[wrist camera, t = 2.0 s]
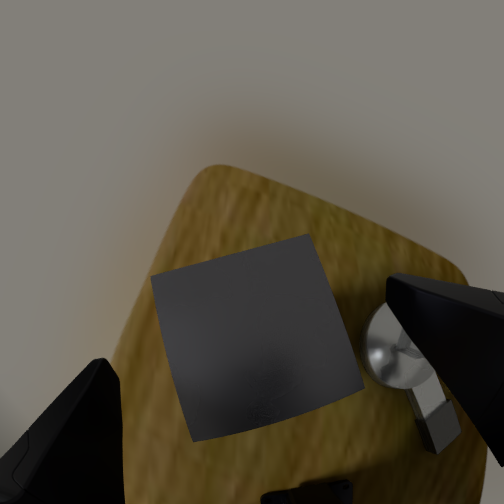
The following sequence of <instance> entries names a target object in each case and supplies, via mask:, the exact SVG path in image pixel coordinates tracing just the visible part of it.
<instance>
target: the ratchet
mask: <svg viewBox="0 0 504 504" xmlns="http://www.w3.org/2000/svg"><path fill="white" fill-rule="evenodd" d="M359 350H360V357H361V361H362V364H363V366H364V368H365V370H366V372H367V373H368V375H369V376H370V377H371V378H372V379H373V380H374V381H375V382H377V383H378V384H380V385H382V386H385V387H388V388H398V389H405V392H406V394H407V396H408V399H409V401H410V403H411V406H412V408H413V411H414V413H415V416H416V418H417V419H415V422H416V424H417V427H418V429H419V432H420V434H421V437H422V440H423V442H424V445H425V448H426V451H428V452H431V453H434V454H437V455H438V454H439V453H440V452H441V451H442V450H443V449H444V448H445V447H446V446H448V445H449V444H450V443H451V442H452V441H453V440H454V439H455V438H456V437H457V436H458V435H459V434H460V433H461V428H460V425H459V422H458V419H457V415H456V412H455V409H454V406H453V404H452V401H451V400H448V399H446V398H445V396H444V393H443V390H442V388H441V385H440V383H439V380H438V378H437V375H436V373H435V370H434V369H433V367H432V366H431V365H430V363H429V362H428V361H427V360H426V358H425V357H424V356H423V355H422V353H421V352H420V351H419V350H418V348H417V347H416V346H415V345H414V343H413V342H412V341H411V339H410V338H409V337H408V335H407V334H406V332H405V331H404V329H403V328H402V326H401V325H400V323H399V322H398V320H397V319H396V317H395V316H394V314H393V313H392V311H391V310H390V308H389V307H388V305H387V303H386V302H385V303H383V304H382V305H380V306H378V307H377V308H376V309H375V310H374V311H373V312H372V313H371V314H370V315H369V316H368V318H367V320H366V321H365V323H364V326H363V328H362V331H361V335H360V343H359Z"/></svg>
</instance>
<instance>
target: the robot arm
mask: <svg viewBox="0 0 504 504" xmlns="http://www.w3.org/2000/svg"><path fill="white" fill-rule="evenodd" d="M385 298H386V303H387V305H388V307H389V308H390V310H391V311H392V313H393V314H394V316H395V317H396V319H397V320H398V322H399V323H400V325H401V326H402V328H403V329H404V331H405V332H406V334H407V335H408V337H409V338H410V339H411V341H412V342H413V343H414V345H415V346H416V347H417V348H418V350H419V351H420V352H421V353H422V355H423V356H424V357H425V358H426V360H427V361H428V362H429V363H430V365H431V366H432V367H433V369H434V370H435V371H436V372H437V374H438V375H439V376H440V378H441V379H442V380H443V382H444V383H445V384H446V386H447V387H448V388H449V390H450V391H451V393H452V394H453V395H454V397H455V398H456V399H457V401H458V402H459V404H460V405H461V406H462V408H463V409H464V411H465V412H466V413H467V415H468V416H469V418H470V419H471V421H472V422H473V424H474V425H475V427H476V428H477V430H478V431H479V433H480V434H481V436H482V437H483V439H484V441H485V442H486V444H487V445H488V447H489V448H490V450H491V452H492V453H493V455H494V456H495V458H496V460H497V461H498V463H499V464H500V466H501V467H503V466H504V293H503V292H497V291H490V290H487V289H481V288H476V287H471V286H466V285H461V284H456V283H450V282H445V281H440V280H434V279H429V278H424V277H418V276H413V275H408V274H402V273H396V274H393V275H391V276H389V277H388V278H387V281H386V297H385ZM122 437H123V424H122V410H121V394H120V381H119V378H118V376H117V374H116V373H115V371H114V370H113V368H112V367H111V365H110V364H109V362H108V361H107V360H106V359H105V358H99V359H94V360H92V361H91V362H90V363H89V364H88V365H87V366H86V368H84V370H83V371H81V373H80V374H79V375H78V376H77V377H76V378H75V379H74V380H73V381H72V382H71V383H70V384H69V385H68V386H67V387H66V388H65V389H64V390H63V391H62V393H61V394H60V395H59V396H58V397H57V398H56V399H55V400H54V401H53V402H52V403H51V404H50V405H49V406H48V407H47V409H46V410H45V411H44V412H43V413H42V414H41V415H40V416H39V418H37V420H36V421H35V422H34V423H33V424H32V425H31V426H30V427H29V430H27V431H26V432H25V433H24V434H23V435H22V436H21V438H19V440H18V441H17V442H16V443H15V444H14V445H13V446H12V447H11V448H10V449H9V450H8V451H7V452H6V453H5V454H4V455H3V456H2V457H1V458H0V504H125V496H124V481H123V448H122ZM345 484H348V485H347V486H346V487H345V488H343V486H344V485H345ZM352 495H353V485H352V483H351V482H350V481H349V480H342V481H338V482H334V483H329V484H326V483H321V484H316V485H311V486H306V487H300V488H293V489H290V490H289V491H283V492H275V493H266V494H263V495H262V496H261V498H260V501H261V504H352ZM266 498H270V499H271V500H270V501H265V499H266Z"/></svg>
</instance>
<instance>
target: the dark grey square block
mask: <svg viewBox="0 0 504 504" xmlns="http://www.w3.org/2000/svg"><path fill="white" fill-rule="evenodd" d="M150 277H151V283H152V288H153V294H154V299H155V304H156V309H157V314H158V319H159V324H160V328H161V333H162V337H163V341H164V346H165V350H166V354H167V358H168V362H169V366H170V369H171V373H172V377H173V380H174V384H175V387H176V391H177V394H178V398H179V401H180V404H181V407H182V411H183V414H184V417H185V420H186V423H187V426H188V429H189V432H190V435H191V438H192V440H193V442H197V441H203V440H208V439H213V438H218V437H223V436H227V435H232V434H236V433H240V432H244V431H248V430H252V429H256V428H259V427H263V426H266V425H270V424H273V423H276V422H280V421H283V420H286V419H289V418H292V417H295V416H298V415H301V414H304V413H306V412H309V411H312V410H315V409H317V408H320V407H322V406H325V405H327V404H330V403H332V402H335V401H337V400H340V399H342V398H344V397H347V396H349V395H351V394H353V393H356V392H358V391H360V390H362V389H364V388H365V387H364V383H363V380H362V377H361V374H360V371H359V368H358V364H357V361H356V358H355V355H354V352H353V349H352V346H351V343H350V340H349V338H348V335H347V332H346V329H345V326H344V323H343V320H342V318H341V315H340V312H339V309H338V307H337V304H336V301H335V298H334V296H333V293H332V290H331V288H330V285H329V283H328V280H327V277H326V275H325V272H324V270H323V267H322V265H321V262H320V260H319V257H318V255H317V252H316V250H315V247H314V245H313V242H312V240H311V238H310V235H309V234H306V235H302V236H298V237H294V238H291V239H287V240H283V241H279V242H276V243H272V244H268V245H265V246H261V247H257V248H253V249H250V250H246V251H242V252H238V253H235V254H231V255H227V256H224V257H220V258H216V259H212V260H209V261H205V262H201V263H198V264H194V265H190V266H187V267H183V268H179V269H175V270H172V271H168V272H164V273H161V274H157V275H153V276H150Z"/></svg>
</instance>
